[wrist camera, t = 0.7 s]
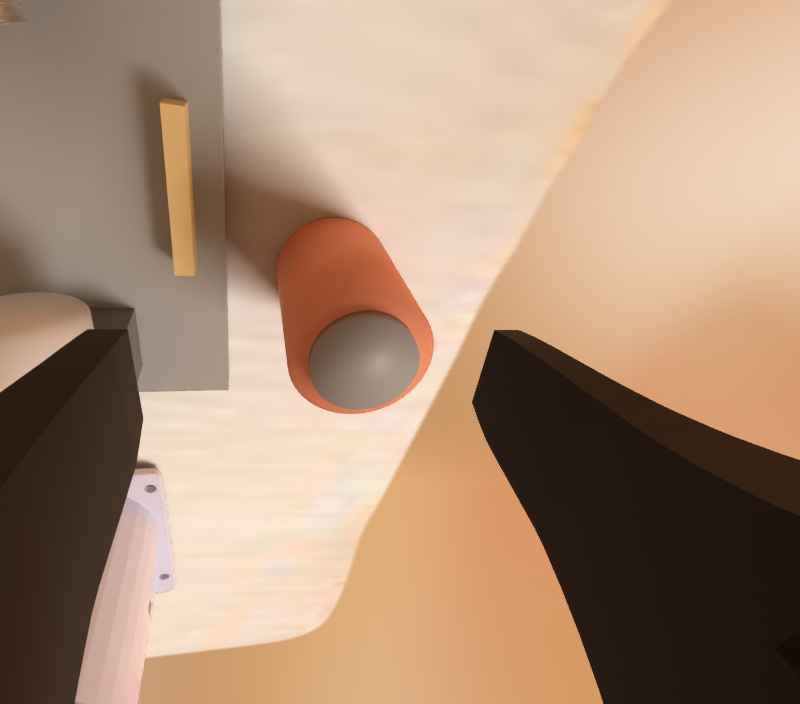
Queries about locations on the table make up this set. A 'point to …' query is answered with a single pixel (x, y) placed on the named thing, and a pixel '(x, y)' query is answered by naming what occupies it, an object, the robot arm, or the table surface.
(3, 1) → the shaft
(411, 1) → the table surface
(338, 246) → the cylinder
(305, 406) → the table surface
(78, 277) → the bench
